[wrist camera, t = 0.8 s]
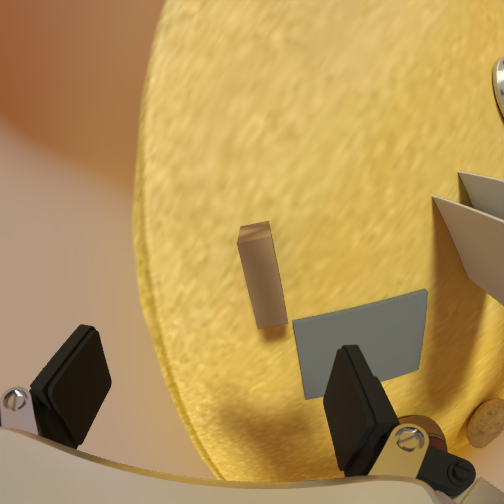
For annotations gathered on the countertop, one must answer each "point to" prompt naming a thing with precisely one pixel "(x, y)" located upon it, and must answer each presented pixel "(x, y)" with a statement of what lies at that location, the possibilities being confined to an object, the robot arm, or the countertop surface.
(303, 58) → the countertop surface
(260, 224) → the brown angular block
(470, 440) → the potato
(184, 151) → the countertop surface
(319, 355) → the mat
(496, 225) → the thin beige panel
